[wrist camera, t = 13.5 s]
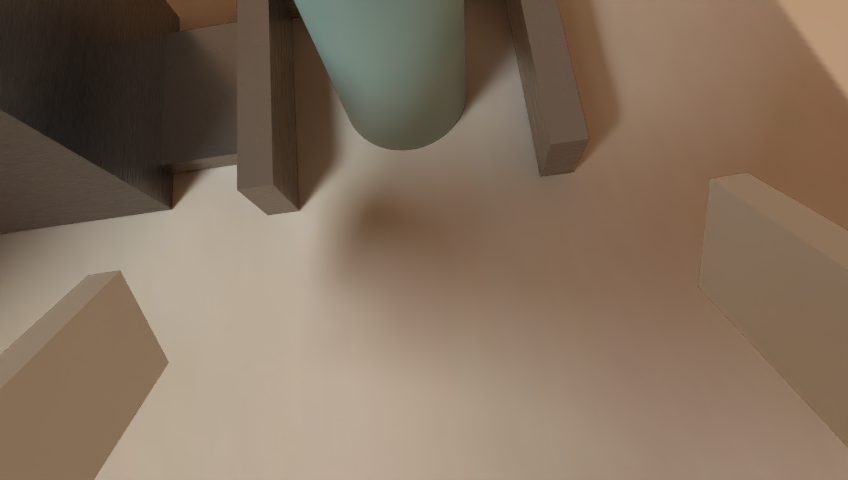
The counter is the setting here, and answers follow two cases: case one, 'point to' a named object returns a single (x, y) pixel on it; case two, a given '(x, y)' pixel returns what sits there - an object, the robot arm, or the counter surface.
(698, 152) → the counter surface
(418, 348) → the counter surface
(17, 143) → the grey flatbed stand
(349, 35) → the white-capped teal cylinder
